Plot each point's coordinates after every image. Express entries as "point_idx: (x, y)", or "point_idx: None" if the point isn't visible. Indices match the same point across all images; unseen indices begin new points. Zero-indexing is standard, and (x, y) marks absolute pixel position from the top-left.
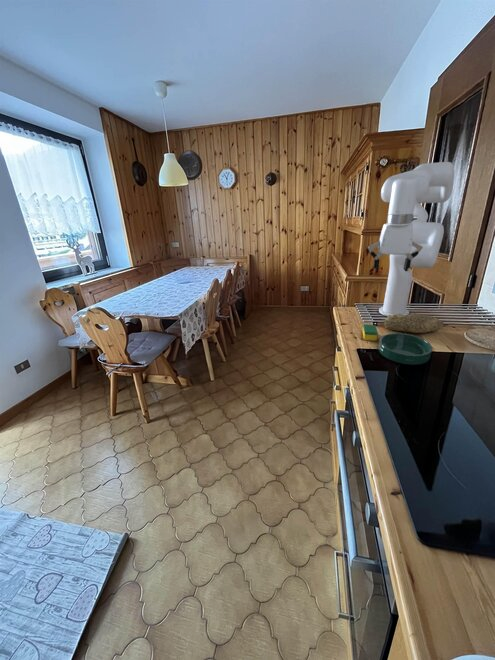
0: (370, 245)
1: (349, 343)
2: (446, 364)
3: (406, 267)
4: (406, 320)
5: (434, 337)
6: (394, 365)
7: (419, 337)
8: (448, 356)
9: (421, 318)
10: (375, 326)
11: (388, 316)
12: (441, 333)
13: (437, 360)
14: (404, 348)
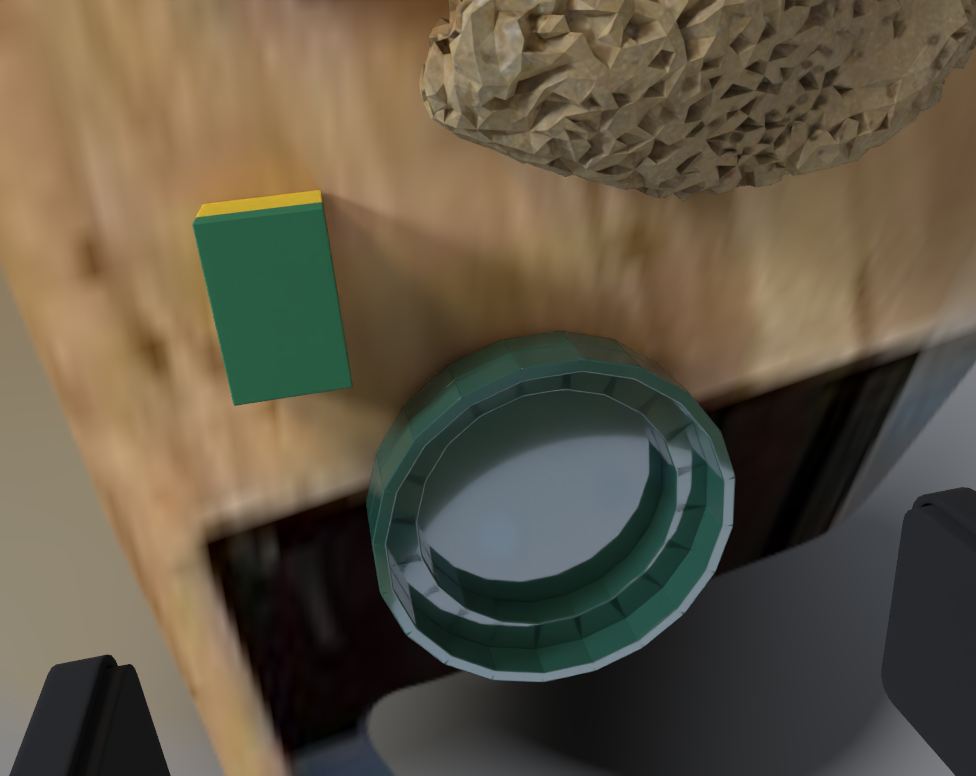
0: None
1: (125, 474)
2: (766, 526)
3: (961, 760)
4: (647, 143)
5: None
6: None
7: (688, 395)
8: (813, 425)
9: (812, 36)
10: (325, 246)
11: (466, 55)
12: None
13: None
14: (556, 442)
